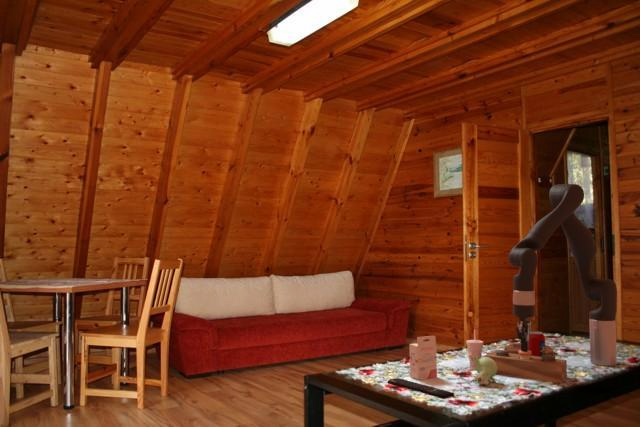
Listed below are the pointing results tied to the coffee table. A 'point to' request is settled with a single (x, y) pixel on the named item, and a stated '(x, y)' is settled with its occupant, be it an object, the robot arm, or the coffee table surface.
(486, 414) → the coffee table surface
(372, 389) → the coffee table surface
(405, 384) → the remote control
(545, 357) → the plunger
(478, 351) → the smoothie
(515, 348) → the plant
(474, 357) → the frog
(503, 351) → the plunger
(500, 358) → the oak block
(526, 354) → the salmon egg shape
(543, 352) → the beverage can
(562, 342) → the coffee table surface
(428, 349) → the ink cartridge box
